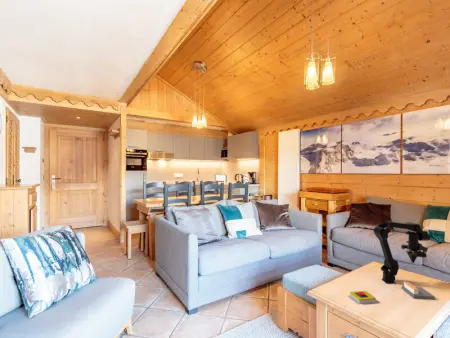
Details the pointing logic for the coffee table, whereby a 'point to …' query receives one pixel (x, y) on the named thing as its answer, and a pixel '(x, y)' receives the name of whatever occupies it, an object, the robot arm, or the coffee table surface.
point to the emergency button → (362, 297)
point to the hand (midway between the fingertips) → (412, 262)
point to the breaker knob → (411, 287)
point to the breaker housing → (420, 293)
